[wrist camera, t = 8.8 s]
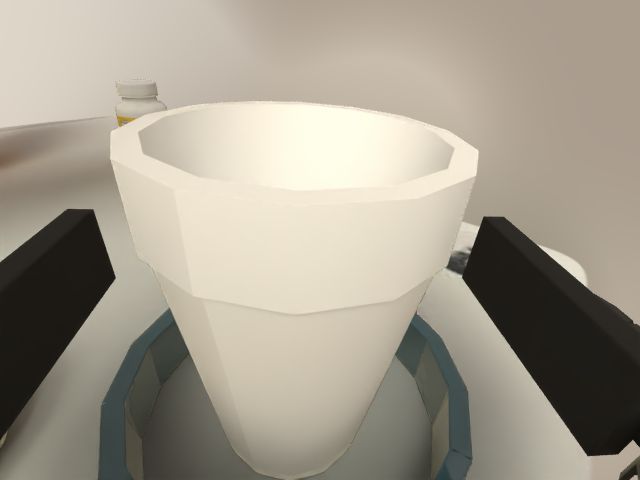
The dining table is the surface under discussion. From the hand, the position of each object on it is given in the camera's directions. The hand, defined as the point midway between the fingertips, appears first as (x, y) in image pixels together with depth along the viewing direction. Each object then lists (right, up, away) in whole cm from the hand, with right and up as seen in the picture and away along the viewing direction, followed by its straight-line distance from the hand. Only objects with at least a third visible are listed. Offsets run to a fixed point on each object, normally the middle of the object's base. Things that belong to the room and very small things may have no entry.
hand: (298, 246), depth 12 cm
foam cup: (-1, -8, +4) cm, 9 cm away
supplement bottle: (-20, +9, +30) cm, 38 cm away
